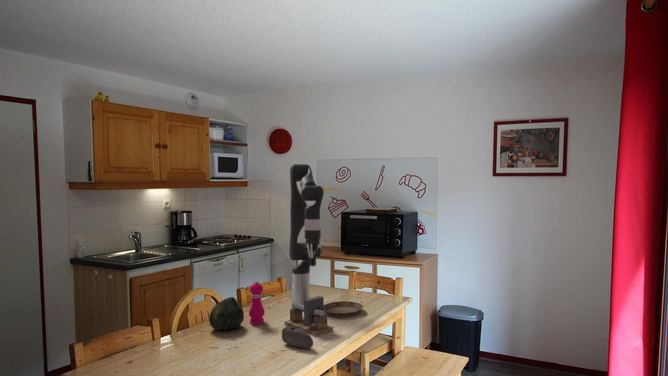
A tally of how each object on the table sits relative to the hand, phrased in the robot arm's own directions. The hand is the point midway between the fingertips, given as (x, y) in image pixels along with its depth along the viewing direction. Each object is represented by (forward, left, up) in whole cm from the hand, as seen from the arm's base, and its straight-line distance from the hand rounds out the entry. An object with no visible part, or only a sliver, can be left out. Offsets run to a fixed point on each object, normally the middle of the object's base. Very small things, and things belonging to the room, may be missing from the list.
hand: (312, 265), depth 205 cm
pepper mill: (-20, -18, -27) cm, 38 cm away
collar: (+7, -6, -23) cm, 25 cm away
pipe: (+3, -6, -20) cm, 21 cm away
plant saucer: (-2, +21, -27) cm, 34 cm away
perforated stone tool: (+17, -24, -27) cm, 40 cm away
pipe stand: (+3, -6, -27) cm, 28 cm away
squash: (-23, -32, -27) cm, 48 cm away
